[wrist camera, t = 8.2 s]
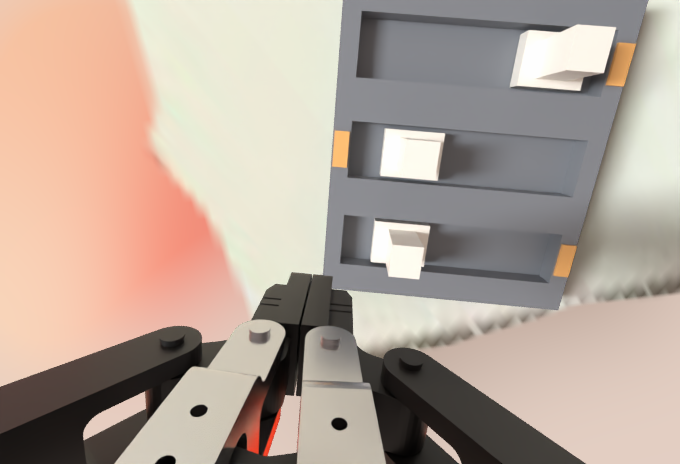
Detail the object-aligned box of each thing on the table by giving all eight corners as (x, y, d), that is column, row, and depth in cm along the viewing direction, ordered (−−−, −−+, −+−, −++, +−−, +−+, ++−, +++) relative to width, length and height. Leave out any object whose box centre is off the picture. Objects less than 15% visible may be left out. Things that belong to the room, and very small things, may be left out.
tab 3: (582, 39, 23) (638, 17, 18) (569, 92, 24) (619, 84, 19) (520, 34, 23) (560, 12, 18) (509, 87, 24) (545, 78, 19)
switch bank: (615, 7, 24) (653, -10, 21) (538, 292, 30) (559, 311, 27) (346, -12, 24) (345, -32, 21) (325, 272, 30) (321, 288, 27)
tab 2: (427, 221, 27) (441, 241, 22) (421, 261, 28) (433, 287, 23) (374, 217, 27) (377, 235, 22) (370, 256, 28) (372, 282, 23)
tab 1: (441, 133, 25) (459, 134, 20) (434, 178, 26) (450, 189, 21) (384, 128, 25) (390, 128, 20) (379, 173, 26) (383, 184, 21)
